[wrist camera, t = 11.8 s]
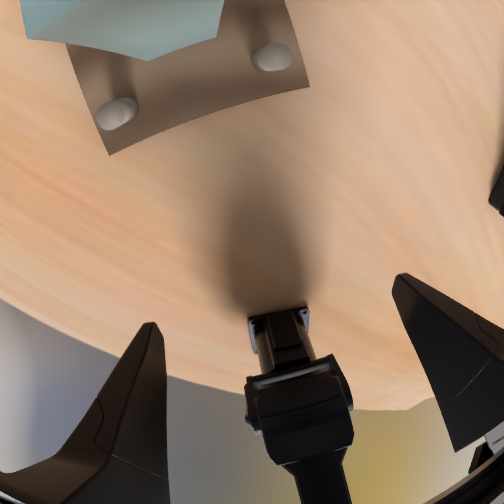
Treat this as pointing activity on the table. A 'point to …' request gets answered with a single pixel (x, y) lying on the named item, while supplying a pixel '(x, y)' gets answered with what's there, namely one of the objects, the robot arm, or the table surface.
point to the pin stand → (191, 74)
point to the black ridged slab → (498, 195)
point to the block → (123, 24)
